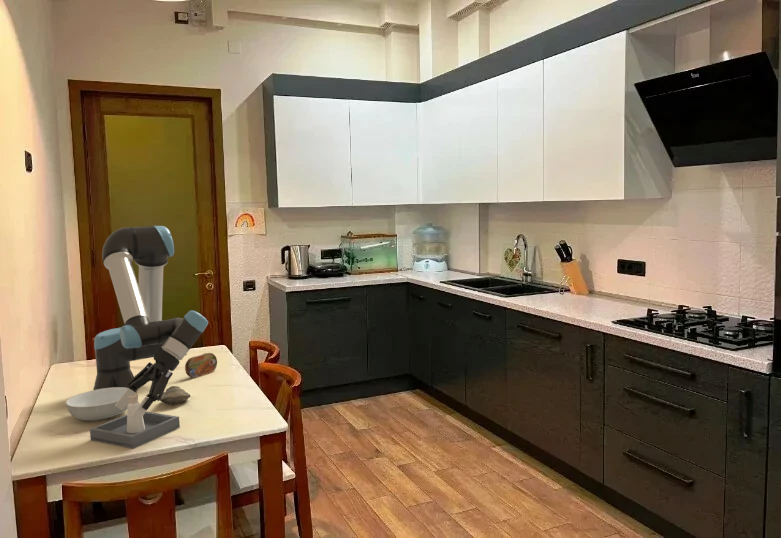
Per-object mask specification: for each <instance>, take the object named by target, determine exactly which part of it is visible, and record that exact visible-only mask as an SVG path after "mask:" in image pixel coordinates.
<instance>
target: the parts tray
mask: <svg viewBox="0 0 781 538" xmlns="http://www.w3.org/2000/svg"><path fill="white" fill-rule="evenodd" d="M143 420H144V425H145V430H143V431H141V432H139V433H132V434H131V433H127V414H125V415H121V416H119V417H117V418H114V419H112V420H109V421H107V422H104V423H102V424H99V425H96V426H94V427H91V428H89V435H90V436H89V438H90V441H93V442H98V443H101V444H106V445H107V444H108V445H112V446H118V447H122V448H127V449H132V450H134V449H136V448H138V447H141V446H143V445H145V444H147V443H149V442H151V441H154V440H156V439H158V438H160V437H162V436H165V435H167V434H169V433H172V432H173V431H175V430H177V429H180V428H181V425H180V416H177V415H169V414H164V413H159V412H158V413H157V412H151V411H146V413H145V414H144V415H143Z"/></svg>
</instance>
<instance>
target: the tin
mask: <svg viewBox="0 0 781 538" xmlns="http://www.w3.org/2000/svg"><path fill="white" fill-rule="evenodd" d="M217 359H218V358H217V356H216V355H215V354H214V353H212V352H205V353H202V354H198V355H196V356H192V357H190V358H188V359H187V360H186V362H185V365H184V370H185V374H186V375H187V376H188V377H190V378H194V379H197V378H200V377H203V376H205V375H209V374H211V373H213V372H214V371H215V370H216V368H217V365H218V360H217Z"/></svg>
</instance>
